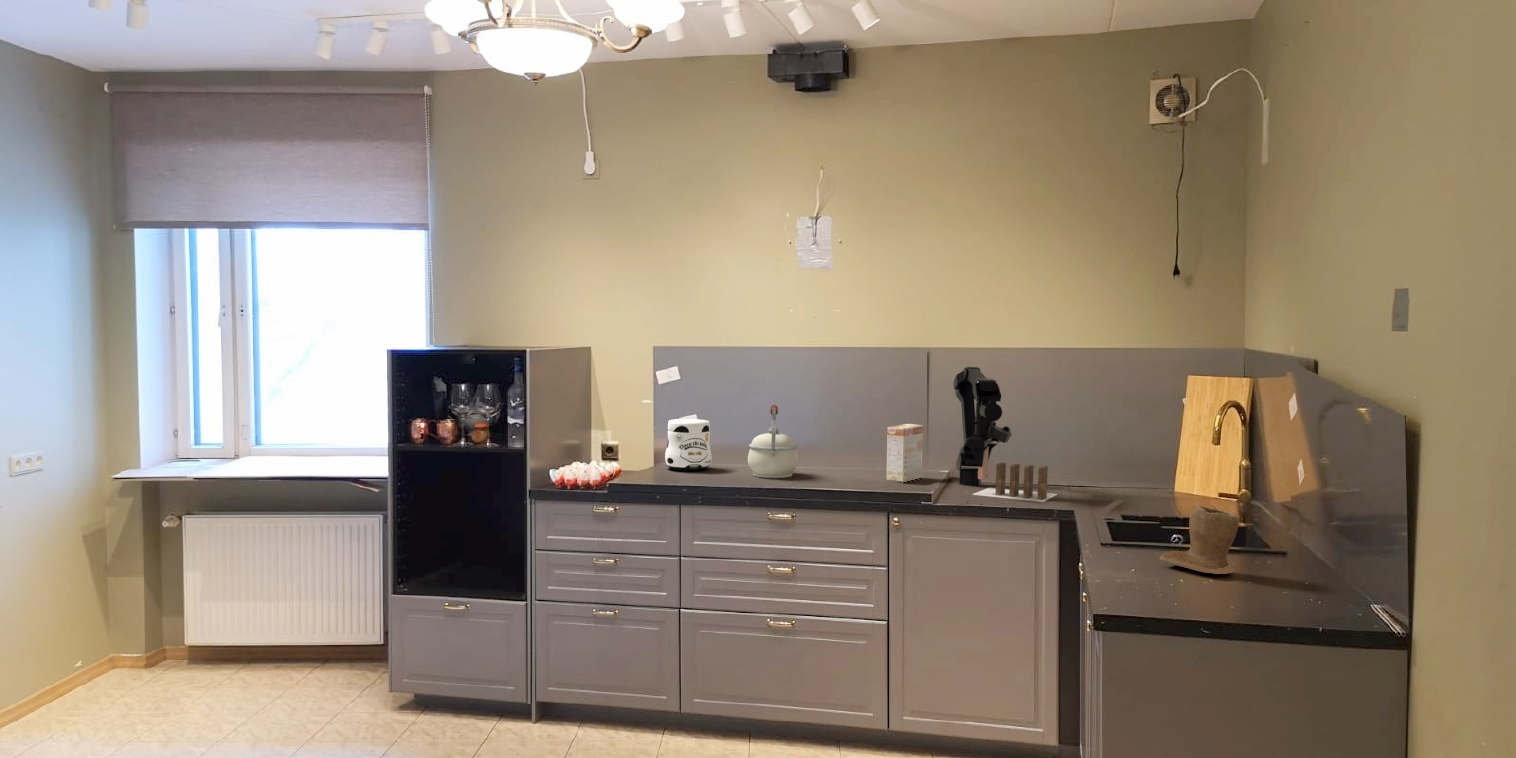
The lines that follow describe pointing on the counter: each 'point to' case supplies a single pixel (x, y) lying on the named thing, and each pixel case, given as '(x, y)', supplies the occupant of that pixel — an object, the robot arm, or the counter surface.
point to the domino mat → (992, 492)
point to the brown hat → (1207, 539)
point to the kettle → (773, 453)
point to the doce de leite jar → (688, 444)
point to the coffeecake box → (904, 452)
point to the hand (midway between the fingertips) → (983, 466)
